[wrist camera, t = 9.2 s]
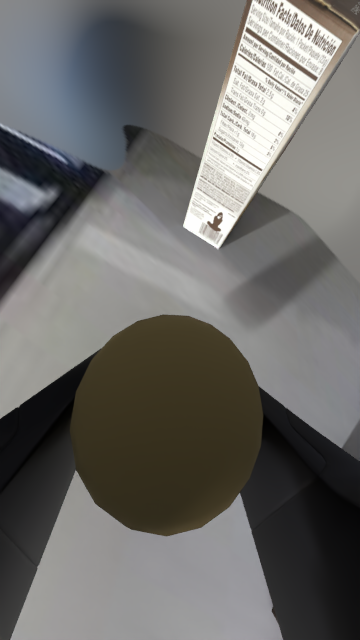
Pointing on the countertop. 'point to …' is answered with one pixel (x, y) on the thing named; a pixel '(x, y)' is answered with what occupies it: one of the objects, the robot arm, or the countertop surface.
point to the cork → (166, 425)
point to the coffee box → (266, 101)
